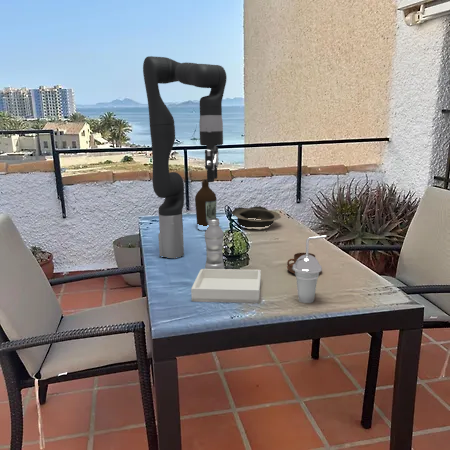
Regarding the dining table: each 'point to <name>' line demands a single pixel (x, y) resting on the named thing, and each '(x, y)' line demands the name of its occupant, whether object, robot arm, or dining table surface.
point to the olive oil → (205, 204)
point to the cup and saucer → (295, 261)
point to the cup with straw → (307, 274)
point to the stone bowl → (255, 216)
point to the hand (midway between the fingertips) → (212, 180)
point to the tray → (227, 286)
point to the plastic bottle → (214, 245)
